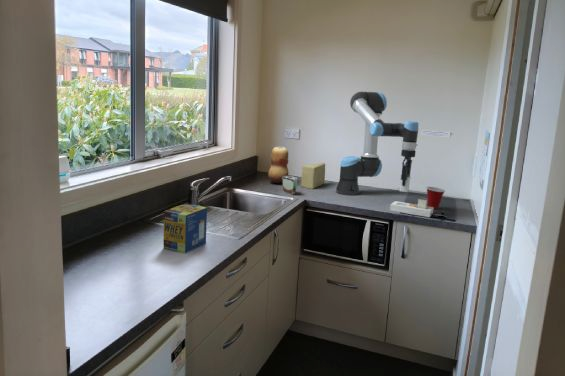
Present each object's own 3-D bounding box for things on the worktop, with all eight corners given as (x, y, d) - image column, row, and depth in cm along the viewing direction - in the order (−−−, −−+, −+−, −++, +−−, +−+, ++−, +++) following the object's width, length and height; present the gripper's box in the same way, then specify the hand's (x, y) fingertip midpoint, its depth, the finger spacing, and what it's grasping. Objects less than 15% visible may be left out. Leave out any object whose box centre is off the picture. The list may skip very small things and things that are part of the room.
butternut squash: (271, 185, 312) (273, 148, 307) (265, 181, 324) (267, 145, 319) (291, 185, 317) (293, 148, 312) (283, 181, 329) (286, 145, 324)
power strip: (389, 210, 266) (390, 203, 265) (394, 206, 275) (395, 199, 274) (444, 219, 253) (445, 212, 252) (447, 215, 261) (448, 208, 260)
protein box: (162, 248, 185) (162, 210, 182) (185, 238, 199) (186, 202, 196) (184, 254, 181) (185, 215, 178) (206, 242, 195) (207, 206, 191)
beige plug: (416, 213, 262) (418, 198, 260) (417, 212, 265) (419, 196, 264) (424, 215, 260) (426, 199, 258) (425, 213, 264) (427, 198, 262)
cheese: (317, 182, 331) (319, 161, 328) (329, 184, 326) (331, 163, 323) (300, 187, 314) (301, 164, 310) (312, 189, 308) (314, 167, 305)
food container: (301, 194, 291) (302, 178, 289) (293, 195, 288) (294, 179, 286) (289, 190, 301) (290, 175, 299) (281, 191, 297) (282, 175, 295)
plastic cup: (444, 211, 271) (446, 191, 268) (424, 209, 273) (427, 189, 270) (441, 206, 281) (444, 187, 279) (423, 205, 283) (425, 185, 281)
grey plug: (399, 191, 265) (401, 175, 263) (400, 189, 268) (402, 174, 266) (407, 192, 263) (408, 176, 261) (408, 191, 266) (410, 175, 264)
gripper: (412, 151, 251) (407, 194, 256) (418, 148, 266) (413, 189, 271) (398, 150, 255) (393, 192, 260) (405, 147, 269) (400, 187, 274)
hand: (404, 190), depth 265 cm, fingers closed on grey plug, 4 cm apart
